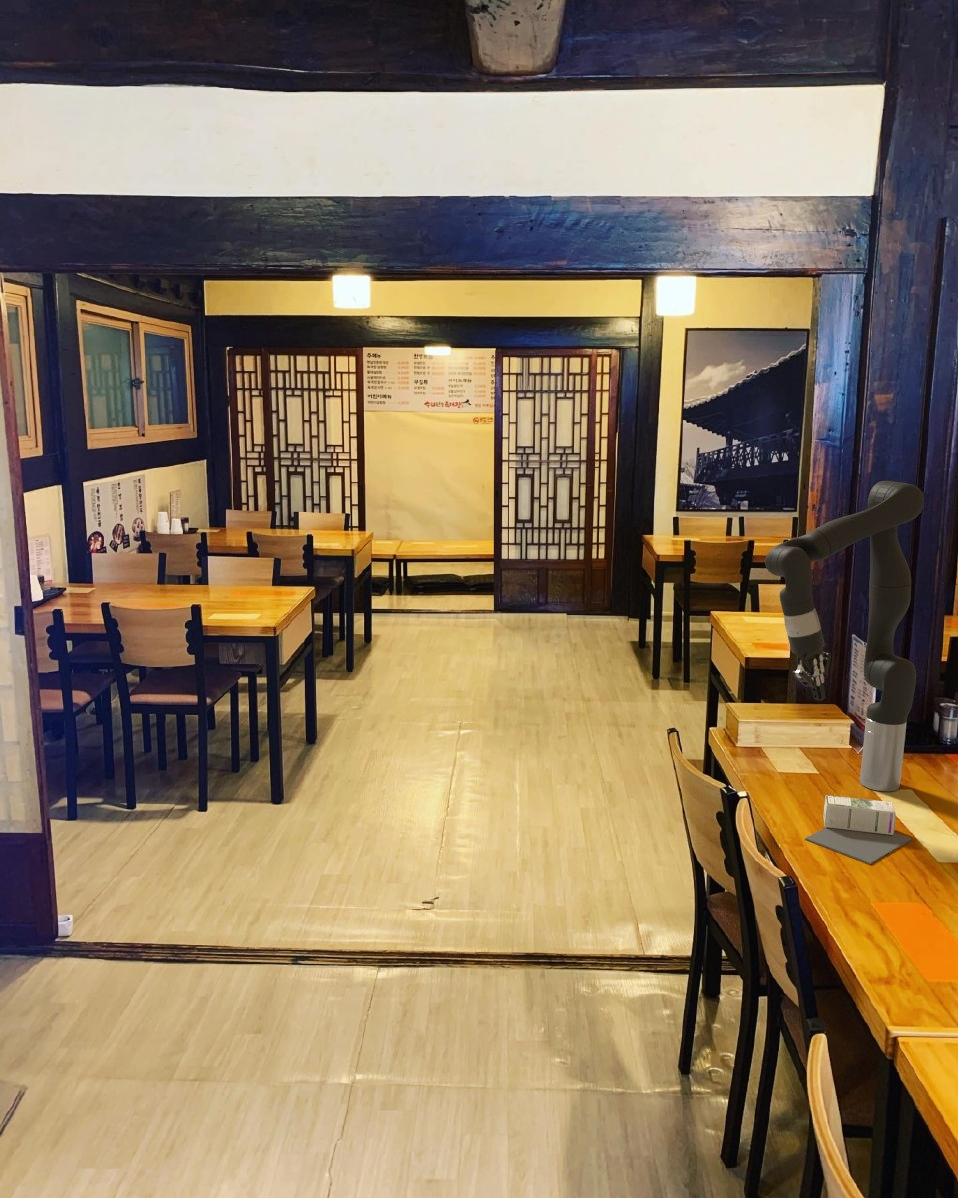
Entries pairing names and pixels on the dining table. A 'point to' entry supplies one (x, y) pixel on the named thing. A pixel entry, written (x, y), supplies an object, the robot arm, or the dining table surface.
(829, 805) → the syrup box
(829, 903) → the dining table surface
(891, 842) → the mat
